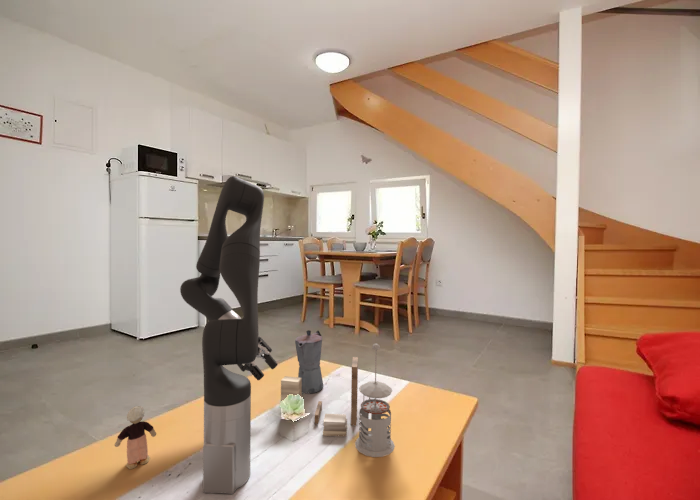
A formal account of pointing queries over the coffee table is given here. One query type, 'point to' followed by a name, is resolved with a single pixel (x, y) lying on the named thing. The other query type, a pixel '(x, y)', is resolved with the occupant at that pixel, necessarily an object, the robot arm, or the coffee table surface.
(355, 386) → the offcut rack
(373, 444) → the french press
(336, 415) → the offcut stack
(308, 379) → the moka pot
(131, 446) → the grandmother figurine
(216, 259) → the robot arm
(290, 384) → the light wooden block
